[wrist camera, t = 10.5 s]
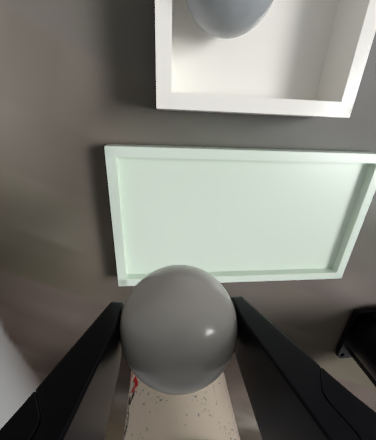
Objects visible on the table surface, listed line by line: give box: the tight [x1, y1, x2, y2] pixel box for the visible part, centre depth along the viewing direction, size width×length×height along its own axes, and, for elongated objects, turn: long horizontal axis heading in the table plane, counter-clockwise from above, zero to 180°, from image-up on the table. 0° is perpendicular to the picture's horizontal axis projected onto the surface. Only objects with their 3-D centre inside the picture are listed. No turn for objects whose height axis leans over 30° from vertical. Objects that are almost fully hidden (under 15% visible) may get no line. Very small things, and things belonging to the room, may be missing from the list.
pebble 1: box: [119, 265, 238, 395], centre depth 8 cm, size 4×4×4 cm
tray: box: [104, 144, 376, 286], centre depth 17 cm, size 10×18×1 cm, turn 87°
